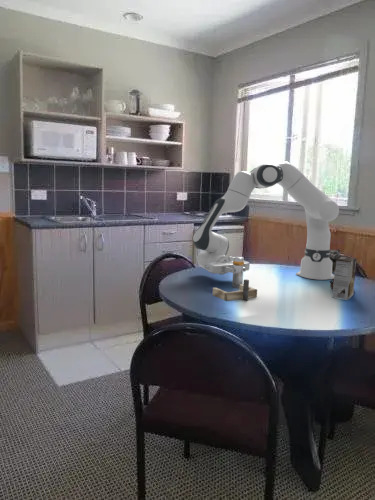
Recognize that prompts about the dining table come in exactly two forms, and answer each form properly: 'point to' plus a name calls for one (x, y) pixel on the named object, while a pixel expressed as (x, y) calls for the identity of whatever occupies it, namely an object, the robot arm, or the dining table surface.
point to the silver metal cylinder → (238, 271)
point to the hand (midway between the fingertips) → (239, 270)
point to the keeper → (236, 293)
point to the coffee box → (344, 277)
